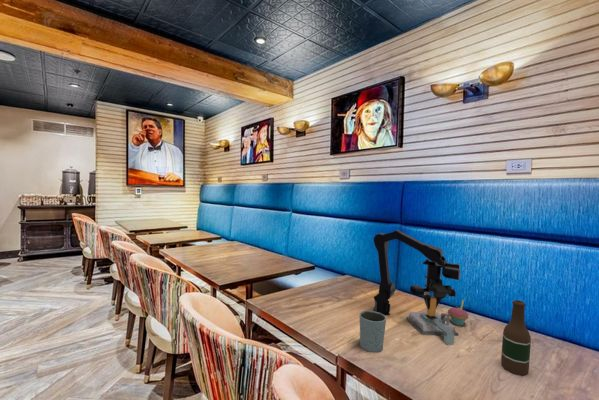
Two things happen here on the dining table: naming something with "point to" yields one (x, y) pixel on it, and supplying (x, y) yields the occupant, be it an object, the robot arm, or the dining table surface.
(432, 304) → the orange upright bar
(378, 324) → the grey cup
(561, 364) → the dining table surface
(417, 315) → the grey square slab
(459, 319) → the cupcake
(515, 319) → the beer bottle
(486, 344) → the dining table surface
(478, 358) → the dining table surface
